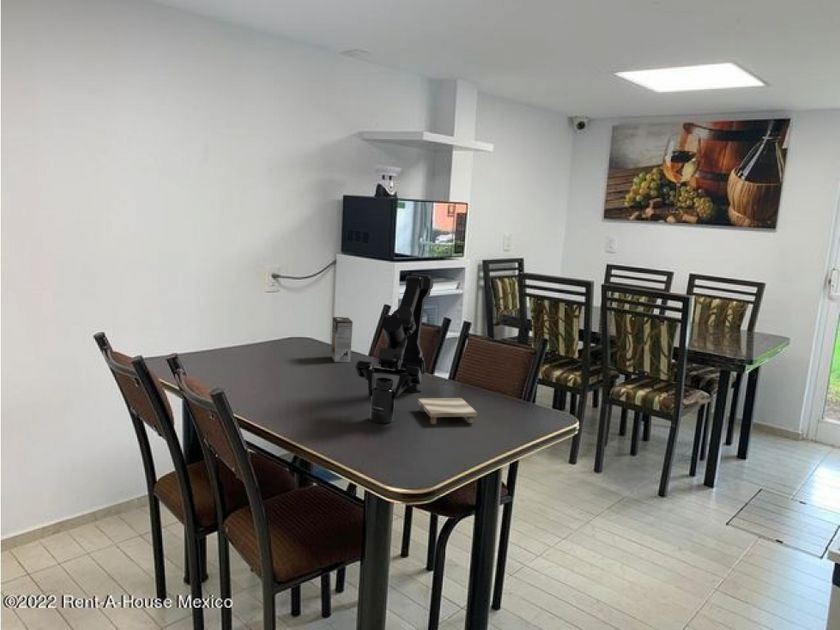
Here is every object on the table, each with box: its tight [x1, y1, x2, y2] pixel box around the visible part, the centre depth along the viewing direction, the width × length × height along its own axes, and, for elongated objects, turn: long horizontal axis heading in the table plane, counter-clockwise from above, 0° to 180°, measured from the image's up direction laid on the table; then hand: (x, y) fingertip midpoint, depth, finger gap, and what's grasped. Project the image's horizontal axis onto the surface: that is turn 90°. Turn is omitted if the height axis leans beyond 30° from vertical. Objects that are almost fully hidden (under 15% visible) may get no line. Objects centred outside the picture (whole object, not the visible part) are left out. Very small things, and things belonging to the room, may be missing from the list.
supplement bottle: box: [369, 377, 396, 425], centre depth 182 cm, size 7×7×12 cm
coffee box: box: [331, 316, 354, 363], centre depth 250 cm, size 9×6×16 cm
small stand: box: [417, 397, 478, 425], centre depth 190 cm, size 14×14×4 cm
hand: (381, 397), depth 180 cm, fingers closed on supplement bottle, 7 cm apart
